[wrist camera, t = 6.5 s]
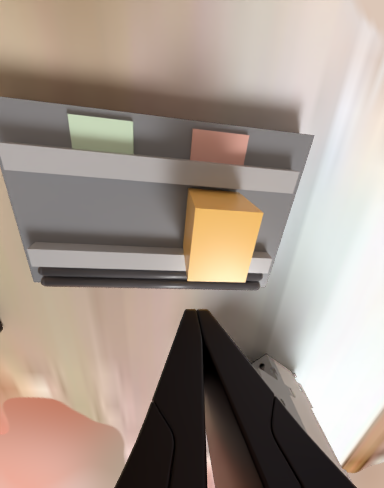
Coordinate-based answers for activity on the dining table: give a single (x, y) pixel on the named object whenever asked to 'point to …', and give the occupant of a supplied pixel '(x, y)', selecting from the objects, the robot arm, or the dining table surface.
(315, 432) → the circuit breaker
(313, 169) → the dining table surface
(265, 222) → the panel
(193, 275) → the toggle
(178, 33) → the dining table surface
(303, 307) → the dining table surface
